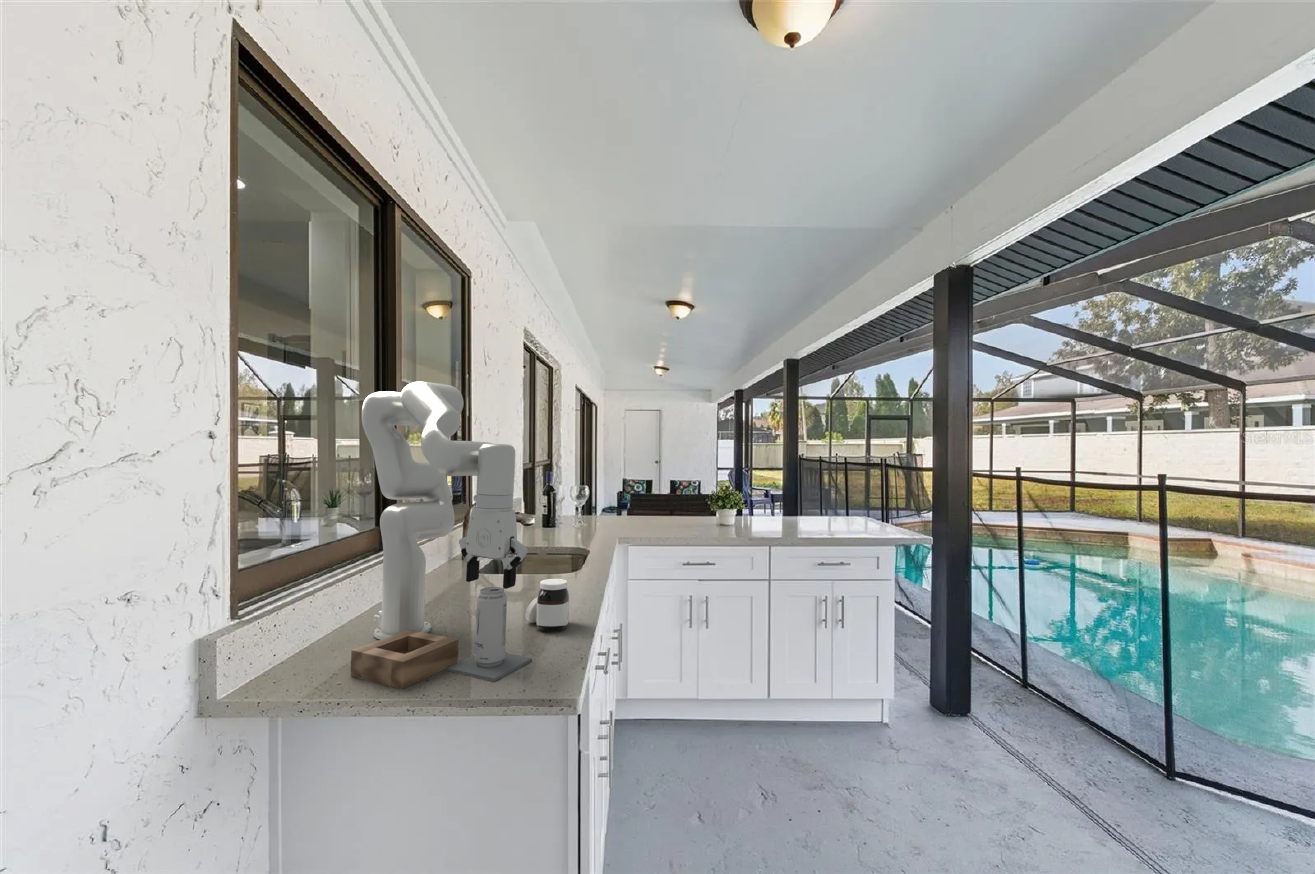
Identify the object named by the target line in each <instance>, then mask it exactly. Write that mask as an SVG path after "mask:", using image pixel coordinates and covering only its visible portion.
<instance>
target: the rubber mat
mask: <svg viewBox="0 0 1315 874" xmlns="http://www.w3.org/2000/svg"><path fill="white" fill-rule="evenodd" d="M532 661H533V657H530V656H525V655H520V654H516V653H515V654H514V653H510V652H509V653H508V652H505V658H504V659H503V660H502V663H501V664H499V665H497V666H492V667H482V666H479V665H478V664H477V663H478V662H477V661H475V654H474V655H472V656H470V657H467V658H466V659H463V660H461V661H459V662H458V663H457V664H454V665H452V666H450V667H448V668H447V669H446V672H451V673H454V674H458V675H463V676H467V677H472V678H477V679H480V680H485V681H490V682H497V681H498V680H500V679H501V678H503V677H506V676H508V675H509V674H510V673H512V672H514V671H517V669H520V668H521V667H523V666H525V665H527V664H529V663H530V662H532Z"/></svg>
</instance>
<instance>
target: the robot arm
mask: <svg viewBox="0 0 1315 874" xmlns="http://www.w3.org/2000/svg"><path fill="white" fill-rule="evenodd" d="M460 391H461V390H459V389H458V388H457V387H456V386H453V385H450V384H445V383H437V382H436V383H435V382H429V381H414V382H410V383H408V384H406V386H404V387H403V389H402V390H401V392H400V391H399V392H398V391H389V390H388V391H387V390H386V391H376V392H373V393H371V394H369V395H368V396H367V397H365V399H364V401H363V404H362V407H361V423H362V427H363V428H362V429H363V430H364V432H365V436H366V438H367V440H368V441H369V444H370V447H371V449H372V453H373V457H374V463H375V468H376V474H377V479H378V484H379V488H380V492H381V494H382V495H383V497H385V498H386V499H389V500H396V501H397V500H415V499H416V500H418V499H422V501H409V502H400V503H399V502H398V503H395V504H392V505H389V506H387V507H386V508H385V509H384V510H383V511H382V513H381V514H380V518H379V528H380V532H381V533H380V534H381V538H382V539H381V541H382V552H383V553H382V554H383V555H382V557H383V559H382V560H383V561H382V589H381V590H382V592H381V593H382V594H381V610H379V611H378V612H377V614H374V615H373V617H372V620H373V621H375V622H378V627H376V628H374V630H373V637H374V638H375V639H378V640H382V639H384V638H387V637H390V636H393V635H396V634H399V633H401V632H404V631H407V630H414V631H419V632H424V633H429V632H430V631H431V629H432V628H431V627H432V626H431V623H429V622H428V621H425V604H426V603H425V602H426V601H425V600H426V597H425V596H426V571H427V568H426V565H427V561H426V560H427V559H426V555H425V552H424V551H423V549H422V548H421V547H420V545H419V544H418V541H423V540H431V539H432V540H433V539H439V538H443V537H446V536H448V535H449V534H451V532H452V531H453V529H454V526H455V522H456V521H455V520H456V519H455V512H454V506H453V501H452V498H451V493H450V489H449V484H448V480H447V477H465V476H466V477H467V476H469V477H476V493H475V495H474V496H473V498H472V499H473V501H475V507H473V508H472V509H471V512H470V515H469V521H468V526H467V532H466V536H464V537H461V538H460V539H459V540H458V544H459V548H460V549H461V550H460V552H461V554H462V556H463V557H464V559H463V561H464V563H466V574H465V575H466V576H465V577H466V578H465V581H466V583H470V582H473V581H477V580H479V579H480V563H481V562H480V560H478V559H479V558H483V559H489V560H494V561H495V560H496V561H498V560H501V561H502V562H503V564H504V566H505V568H504V570H503V576H502V577H503V579H502V580H503V581H502V588H504V590H507V589H510V588H514V587H515V586H516V582H517V568H519V567H520V565H521V564H522V563H523V562H524V560H525V557H526V555H527V554H528V553H529V552H528V550H529V549H528V548H527V546H526V545H524V544H523V543H521V542H520V541H519V540H518V532H517V531H518V530H517V529H518V526H517V517H516V516H517V515H516V511H515V509H514V492H515V491H514V490H515V471H516V470H515V469H516V468H515V467H516V449H515V447H514V446H513V445H512V444H505V443H493V442H488V441H474V440H473V441H472V440H451V439H449V438H450V437H452V436H453V435H454V434H456V432H457V431H458V430H459V428H460V426H461V422H462V419H461V416H460V415H461V413H462V411H463V408H464V398H463V394H462V393H461V392H460ZM396 426H401V427H402V426H403V427H418V428H419V427H420V428H421V429H422V432H421V436H420V446H421V451H422V455H423V456H424V458H425V459H426V460H427V461H416V460H414V458H413V456H412V451H411V447H410V443H409V442H408V440H407V439H406V437H405V436H404V435H403V434H402V432H400V430H398V429H396ZM516 552H517V554H516Z"/></svg>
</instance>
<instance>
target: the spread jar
mask: <svg viewBox="0 0 1315 874" xmlns="http://www.w3.org/2000/svg"><path fill="white" fill-rule="evenodd" d="M539 588H540V589H539V591H538V593H537V596H536V597H534V599H532V601H531V602H530V603H529V605H528V606H527V608H526V610H525V612H524V613H525V615H524V617H525V620H526V621H527V622H529V623H530V624H534V623H536V627H537V629H539V630H540V631H541V632H547V633H549V632H550V633H555V632H560V631H563V630H565V629H566V628H567V627H568V625H569V624H568V623H569V617H570V616H569V615H570V607H569V606H570V593H569V589H568V580H566V579H564V578H548V579H543V580H541V581H540V582H539Z"/></svg>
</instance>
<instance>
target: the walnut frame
mask: <svg viewBox="0 0 1315 874" xmlns="http://www.w3.org/2000/svg"><path fill="white" fill-rule="evenodd" d="M350 655H351V656H350V677H354V678H358V679H362V680H365V681H370V682H373V683H377V684H380V685H384V686H388V687H393V688H396V689H400V690H404V689H406V688H408V687H411V686H412V685H414V684H417V683H419V682H421V681H423V680H425V679H427V678H429V677H431V676H434V675H435V674H439V673H440V672H442V671H444V670H447V668H448V667H450V666H452V665H454V664H457V663H459V662H458V661H459V638H456V637H450V636H445V635H439V634H432V633H429V632H428V633H424V632H419V631H414V630H407V631H404V632H401V633H399V634H396V635H393V636H390V637H387V638H384V639H382V640H380V639H378V640H376V641H374V642H370V643H367V644H365V645H362V646H360V647H356V648H353V649H351V652H350Z"/></svg>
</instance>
